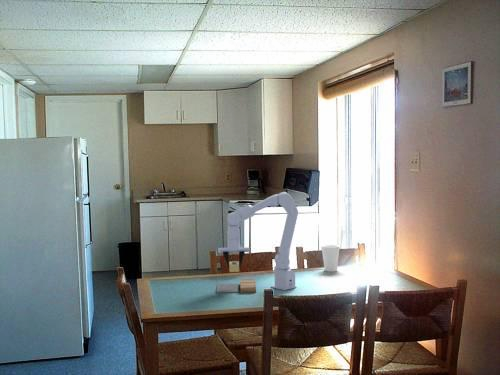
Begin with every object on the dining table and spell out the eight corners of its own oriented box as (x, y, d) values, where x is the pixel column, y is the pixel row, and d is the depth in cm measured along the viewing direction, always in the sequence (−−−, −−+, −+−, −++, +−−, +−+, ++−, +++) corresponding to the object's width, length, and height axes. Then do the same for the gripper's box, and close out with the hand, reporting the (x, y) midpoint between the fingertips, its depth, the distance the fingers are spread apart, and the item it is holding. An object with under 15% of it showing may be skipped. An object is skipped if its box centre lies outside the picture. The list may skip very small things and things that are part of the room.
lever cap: (239, 271, 268) (239, 262, 268) (229, 272, 268) (229, 262, 268) (239, 268, 275) (238, 259, 275) (229, 269, 275) (229, 260, 275)
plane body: (256, 292, 263) (255, 287, 263) (240, 293, 263) (240, 287, 263) (255, 283, 281) (255, 278, 281) (240, 284, 281) (240, 278, 281)
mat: (238, 292, 264) (238, 291, 264) (216, 293, 264) (216, 292, 264) (238, 284, 280) (238, 283, 280) (217, 285, 280) (217, 284, 280)
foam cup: (340, 271, 305) (340, 247, 304) (323, 272, 305) (322, 247, 304) (338, 268, 314) (338, 244, 314) (321, 268, 315) (320, 244, 314)
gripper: (249, 237, 275) (249, 265, 276) (218, 237, 275) (218, 266, 275) (249, 239, 268) (250, 268, 269) (217, 239, 268) (218, 269, 268)
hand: (234, 267), depth 272 cm, fingers closed on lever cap, 4 cm apart
